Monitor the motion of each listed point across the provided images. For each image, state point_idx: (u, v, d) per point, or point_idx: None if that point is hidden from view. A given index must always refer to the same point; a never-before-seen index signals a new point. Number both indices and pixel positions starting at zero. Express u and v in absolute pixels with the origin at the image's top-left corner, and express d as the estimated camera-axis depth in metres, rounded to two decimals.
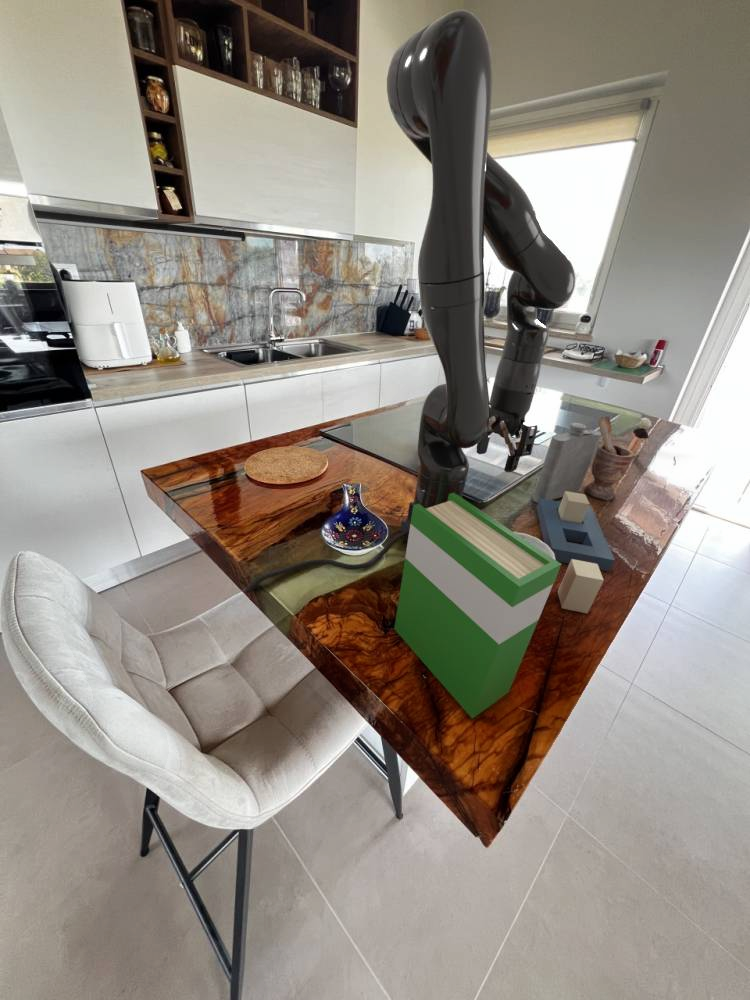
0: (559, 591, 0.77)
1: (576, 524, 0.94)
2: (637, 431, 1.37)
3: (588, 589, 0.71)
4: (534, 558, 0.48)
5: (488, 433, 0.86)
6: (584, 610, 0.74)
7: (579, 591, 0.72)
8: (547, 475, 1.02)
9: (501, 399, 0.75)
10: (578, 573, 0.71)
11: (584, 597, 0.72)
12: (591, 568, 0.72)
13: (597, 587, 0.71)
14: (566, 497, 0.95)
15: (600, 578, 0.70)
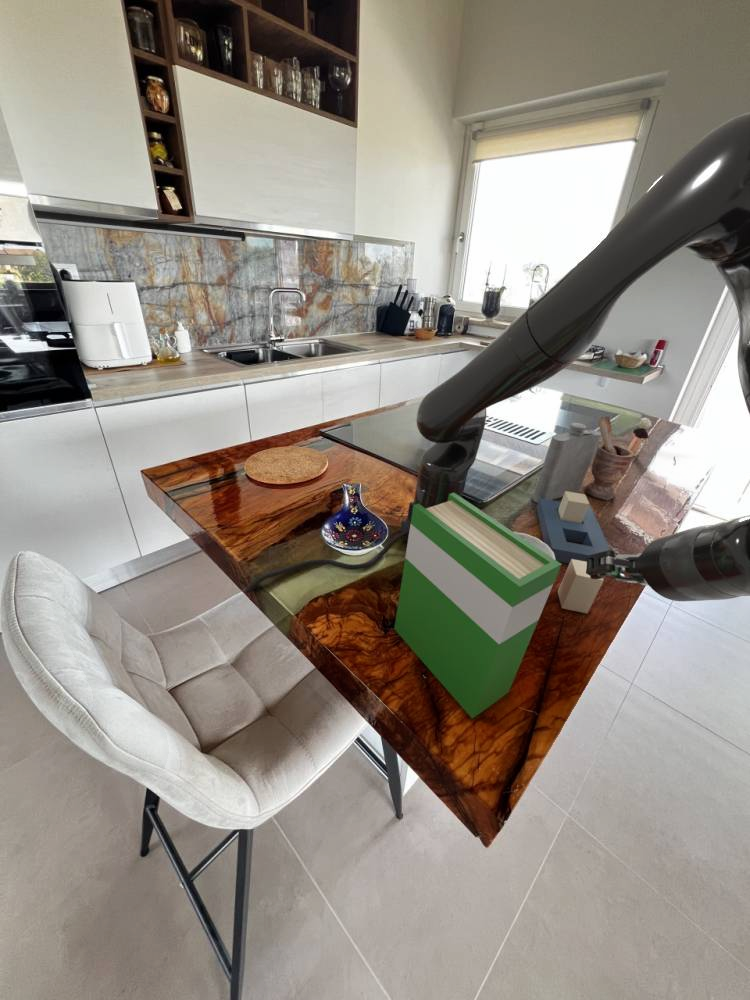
0: (559, 591, 0.77)
1: (576, 524, 0.94)
2: (637, 431, 1.37)
3: (588, 589, 0.71)
4: (534, 558, 0.48)
5: None
6: (584, 610, 0.74)
7: (579, 591, 0.72)
8: (547, 475, 1.02)
9: None
10: (578, 573, 0.71)
11: (584, 597, 0.72)
12: None
13: (597, 587, 0.71)
14: (566, 497, 0.95)
15: None
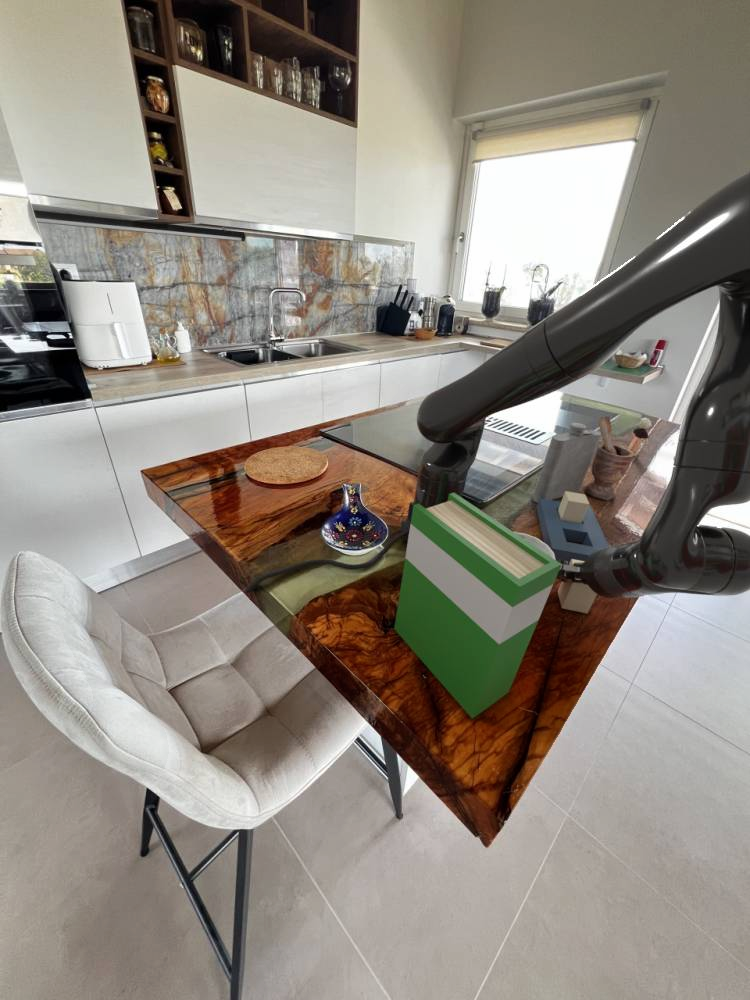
0: (559, 591, 0.77)
1: (576, 524, 0.94)
2: (637, 431, 1.37)
3: (588, 589, 0.71)
4: (534, 558, 0.48)
5: None
6: (584, 610, 0.74)
7: (580, 591, 0.72)
8: (547, 475, 1.02)
9: None
10: None
11: (584, 597, 0.72)
12: None
13: None
14: (566, 497, 0.95)
15: None
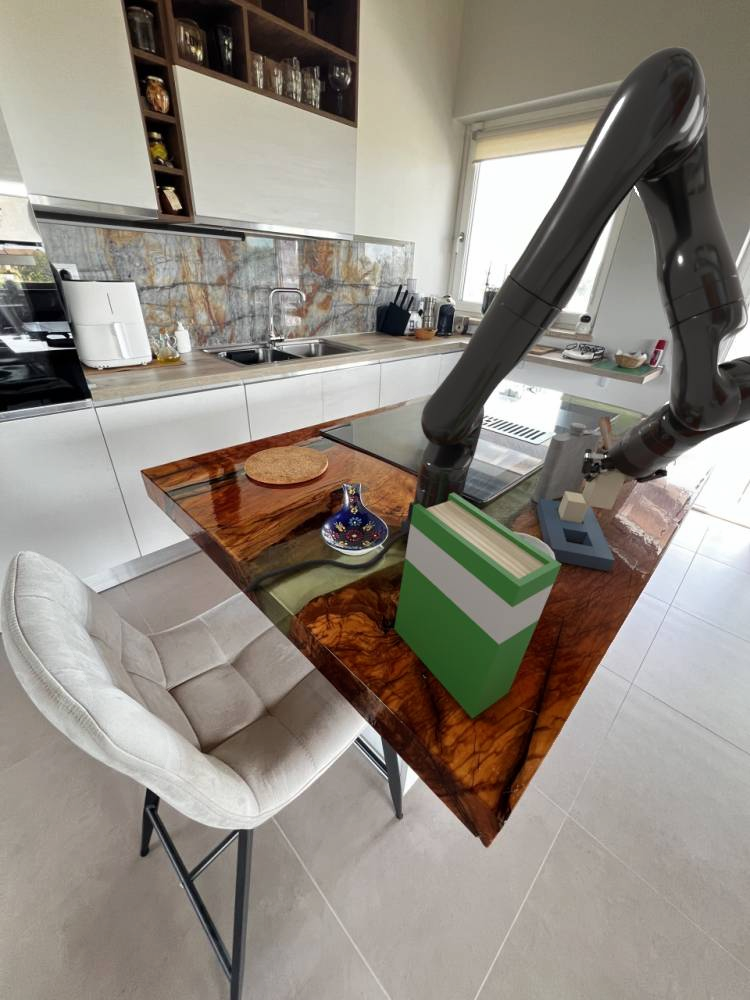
0: (584, 493, 0.82)
1: (576, 524, 0.94)
2: None
3: (613, 483, 0.76)
4: (534, 558, 0.48)
5: None
6: (609, 506, 0.79)
7: (604, 486, 0.77)
8: (547, 475, 1.02)
9: None
10: None
11: (608, 492, 0.77)
12: None
13: (621, 480, 0.76)
14: (566, 497, 0.95)
15: None
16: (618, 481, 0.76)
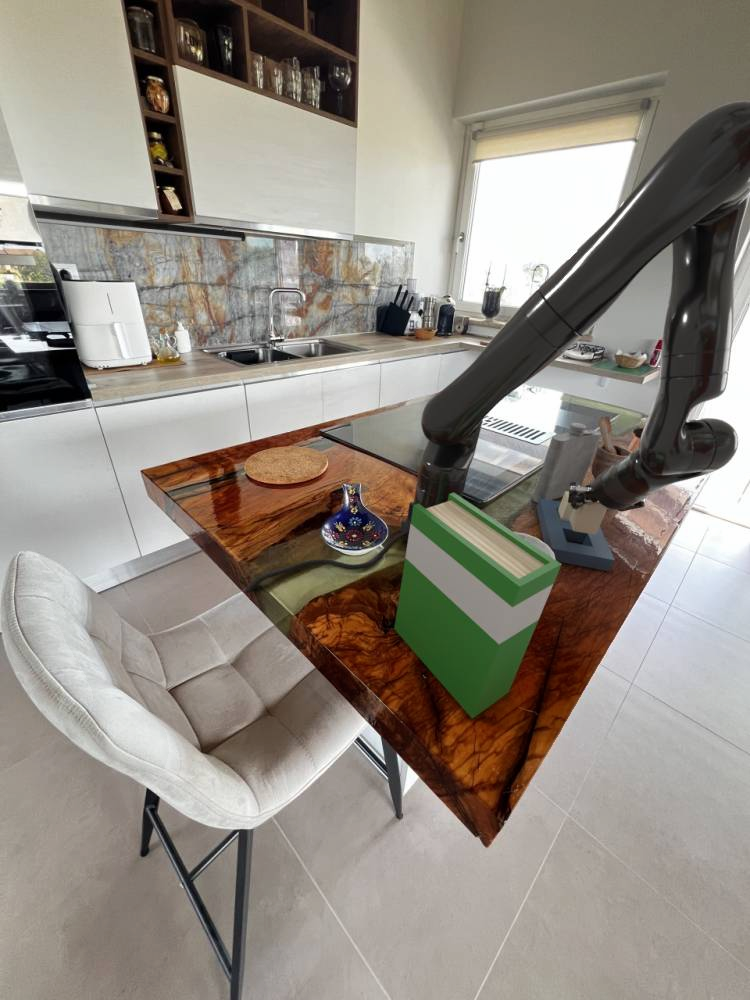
0: (571, 518, 0.89)
1: None
2: (637, 431, 1.37)
3: (596, 511, 0.83)
4: (534, 558, 0.48)
5: None
6: (593, 532, 0.85)
7: (589, 514, 0.84)
8: (547, 475, 1.02)
9: None
10: None
11: (593, 519, 0.84)
12: None
13: (604, 509, 0.82)
14: (566, 497, 0.95)
15: None
16: (601, 509, 0.83)
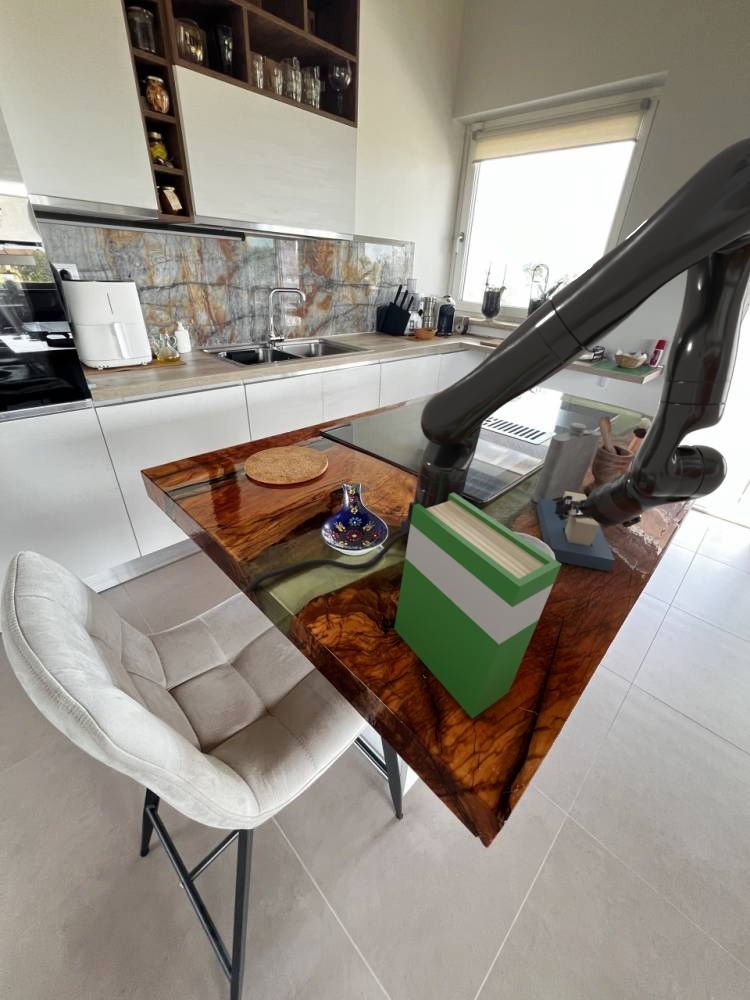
0: None
1: None
2: (637, 431, 1.37)
3: (586, 534, 0.86)
4: (534, 558, 0.48)
5: None
6: None
7: (579, 536, 0.87)
8: (547, 475, 1.02)
9: None
10: (578, 520, 0.86)
11: (583, 541, 0.87)
12: None
13: (593, 531, 0.85)
14: None
15: (596, 524, 0.85)
16: (591, 532, 0.86)
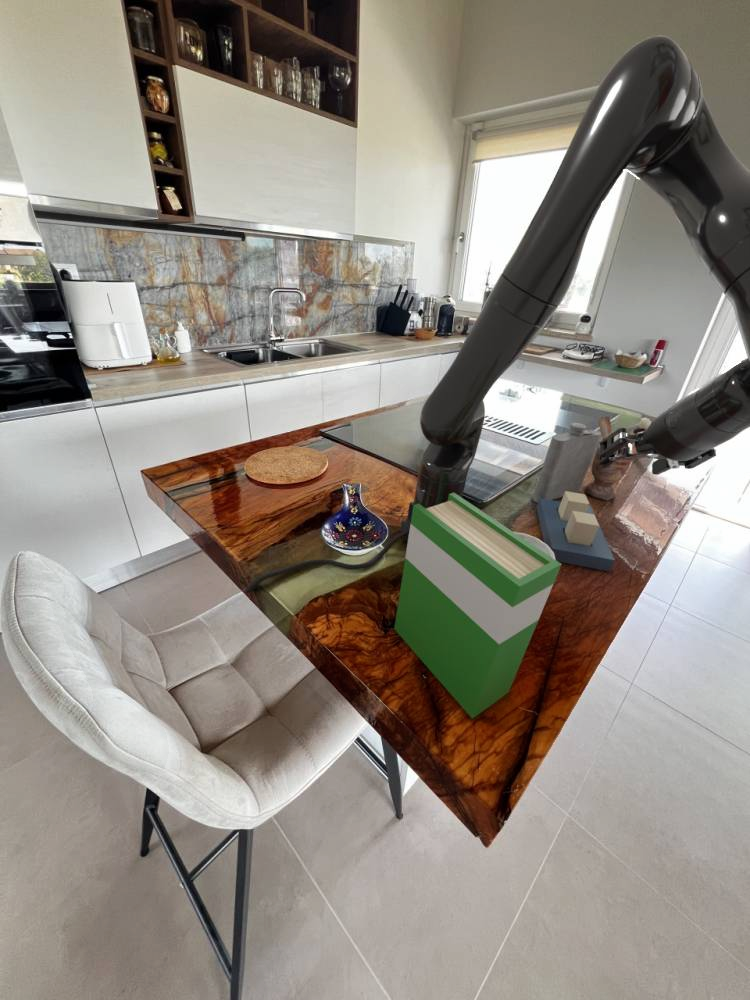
0: None
1: None
2: (637, 431, 1.37)
3: (586, 534, 0.86)
4: (534, 558, 0.48)
5: None
6: None
7: (579, 536, 0.87)
8: (547, 475, 1.02)
9: None
10: (578, 520, 0.86)
11: (583, 541, 0.87)
12: (589, 517, 0.87)
13: (593, 532, 0.85)
14: (566, 497, 0.95)
15: (596, 524, 0.85)
16: (591, 532, 0.86)
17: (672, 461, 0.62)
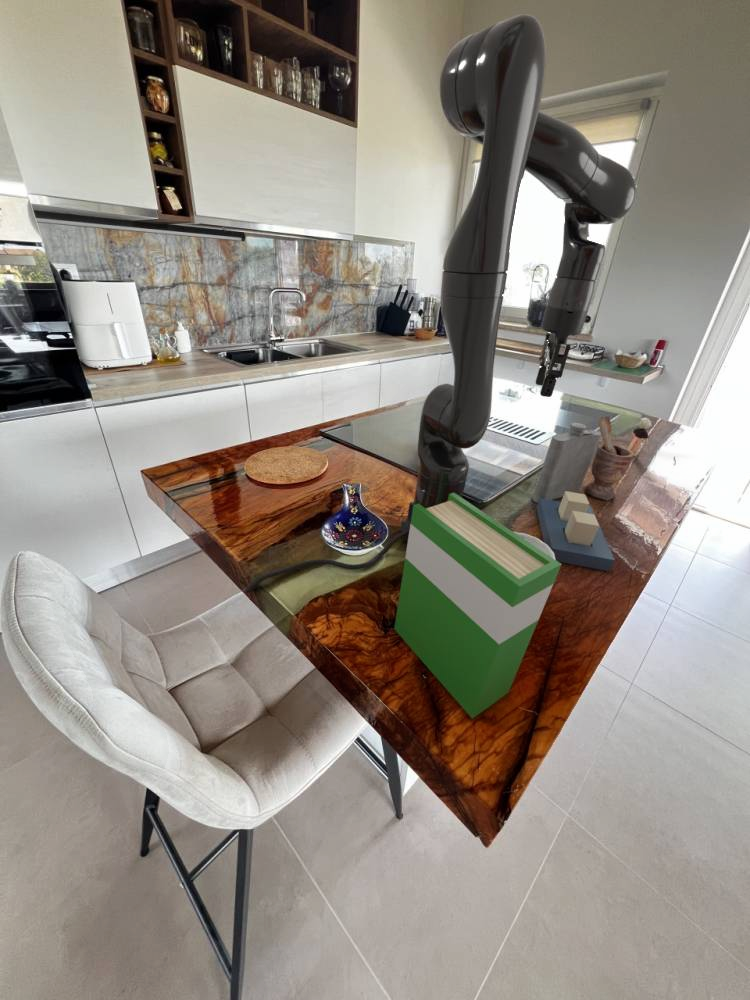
0: None
1: None
2: (637, 431, 1.37)
3: (586, 534, 0.86)
4: (534, 558, 0.48)
5: None
6: None
7: (579, 536, 0.87)
8: (547, 475, 1.02)
9: (545, 318, 0.79)
10: (578, 520, 0.86)
11: (583, 541, 0.87)
12: (589, 517, 0.87)
13: (593, 532, 0.85)
14: (566, 497, 0.95)
15: (596, 524, 0.85)
16: (591, 532, 0.86)
17: None
